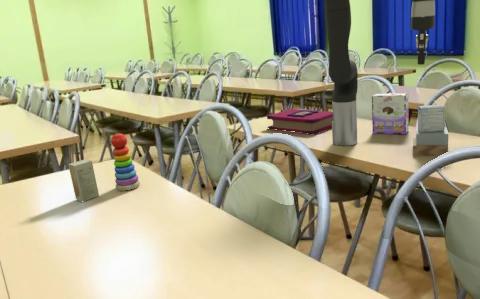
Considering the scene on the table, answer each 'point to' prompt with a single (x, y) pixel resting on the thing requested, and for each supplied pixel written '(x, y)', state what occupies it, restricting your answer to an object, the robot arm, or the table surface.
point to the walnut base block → (428, 149)
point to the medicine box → (431, 118)
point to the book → (302, 120)
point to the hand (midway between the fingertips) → (421, 63)
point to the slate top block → (432, 137)
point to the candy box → (390, 113)
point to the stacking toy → (123, 164)
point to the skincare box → (83, 180)
